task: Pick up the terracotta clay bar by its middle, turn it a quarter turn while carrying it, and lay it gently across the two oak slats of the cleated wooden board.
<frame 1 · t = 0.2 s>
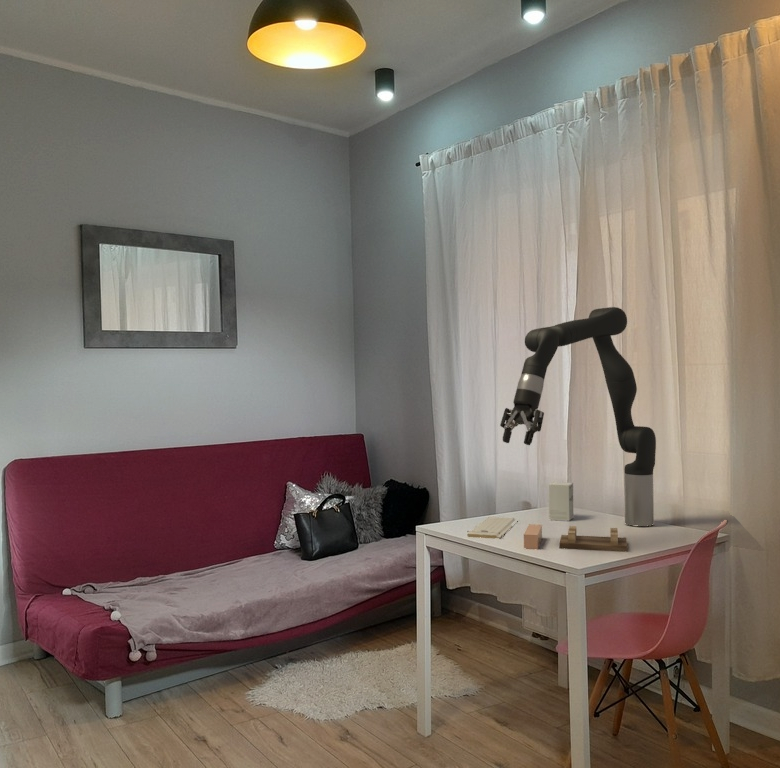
hand: (516, 443, 221), 31 cm above the table, tool tilted 20°, fingers open, 8 cm apart
cleated wooden board: (593, 545, 223), on the table
supplement box: (561, 519, 265), on the table
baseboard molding: (496, 530, 250), on the table
clay bar: (533, 544, 226), on the table
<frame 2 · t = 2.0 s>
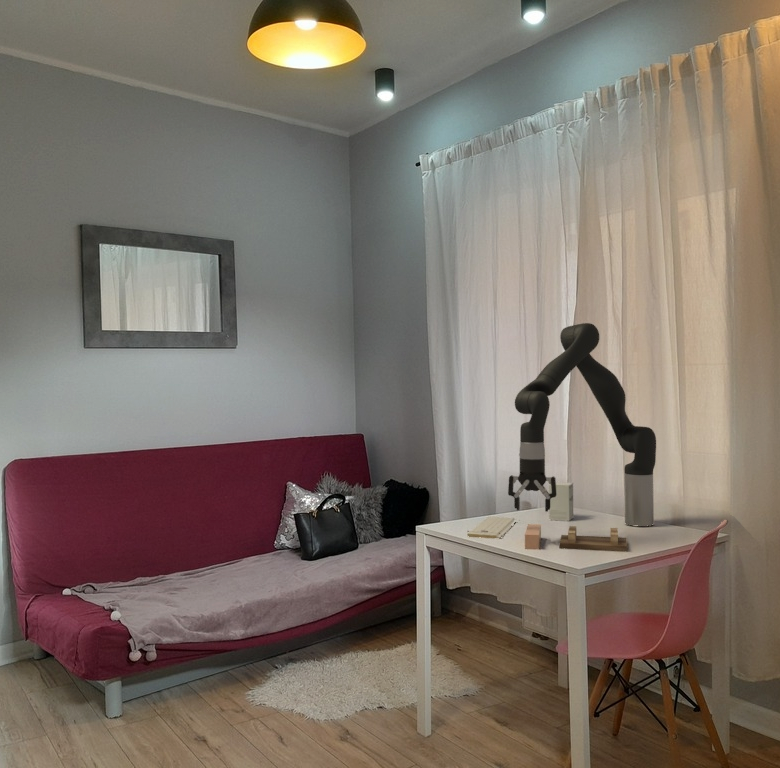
hand: (532, 510, 226), 10 cm above the table, tool pointing down, fingers open, 8 cm apart
nothing on the table moved.
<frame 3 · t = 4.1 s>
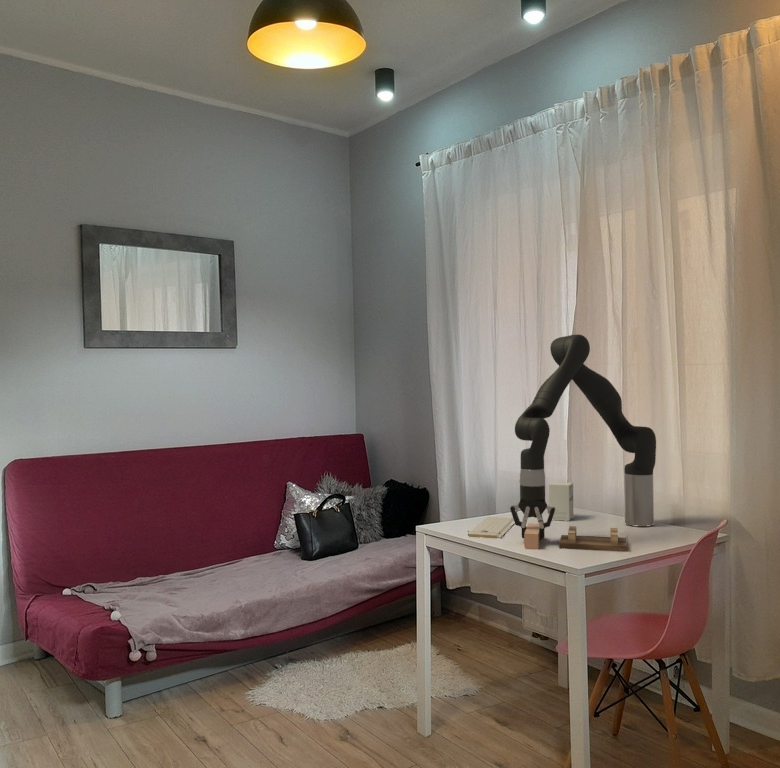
hand: (533, 539, 227), 1 cm above the table, tool pointing down, fingers closed on clay bar, 4 cm apart
clay bar: (533, 543, 227), on the table, touching gripper
everything else where it was.
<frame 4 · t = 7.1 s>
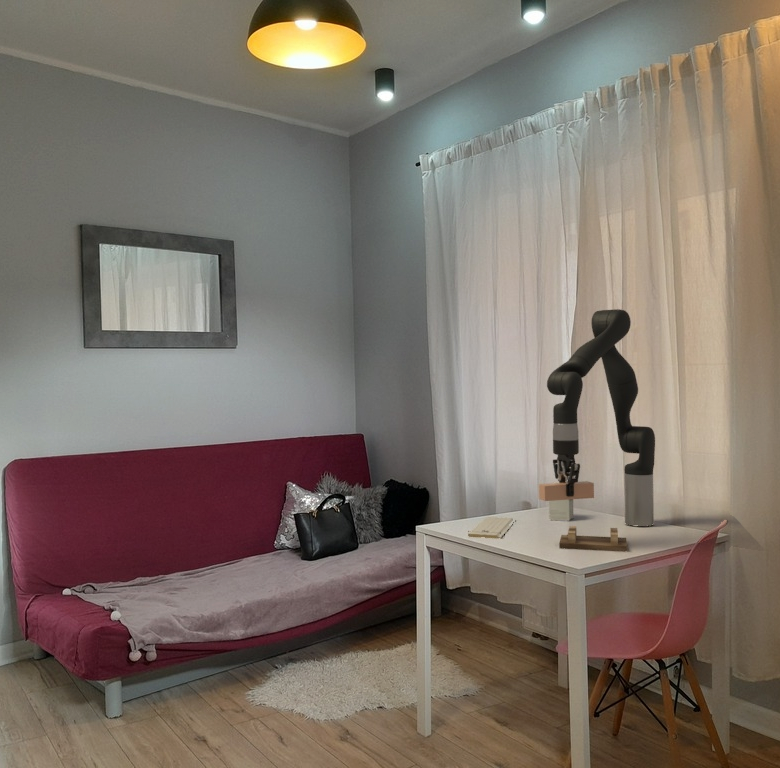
hand: (566, 494, 225), 15 cm above the table, tool pointing down, fingers closed on clay bar, 4 cm apart
clay bar: (566, 498, 225), point 14 cm above the table, touching gripper
everything else where it was.
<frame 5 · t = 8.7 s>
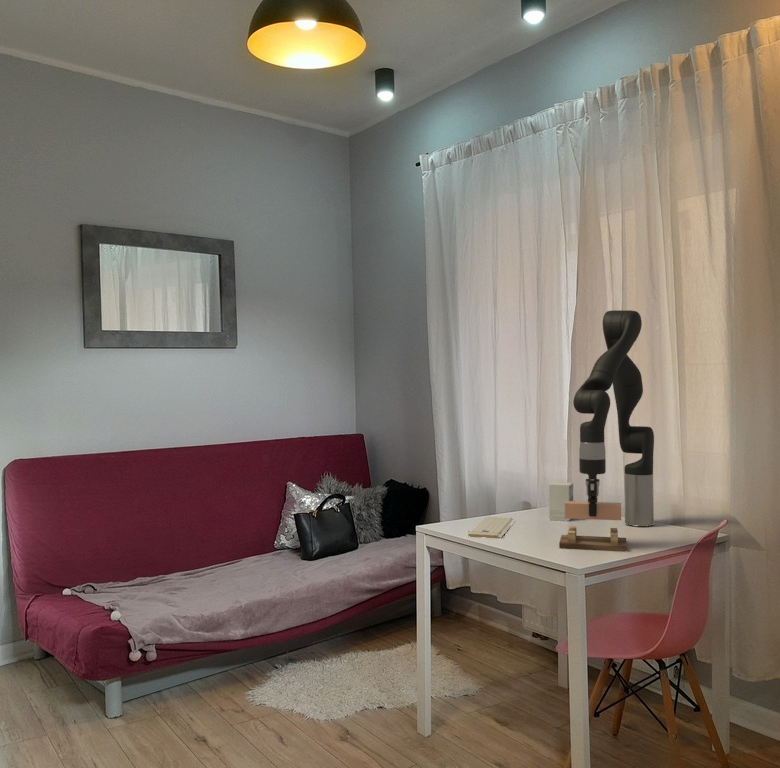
hand: (592, 514, 223), 9 cm above the table, tool pointing down, fingers closed on clay bar, 4 cm apart
clay bar: (592, 518, 223), point 8 cm above the table, touching gripper
everything else where it was.
when the fingers open (6 cm above the table, at t = 10.2 s): clay bar stays where it is, resting on cleated wooden board.
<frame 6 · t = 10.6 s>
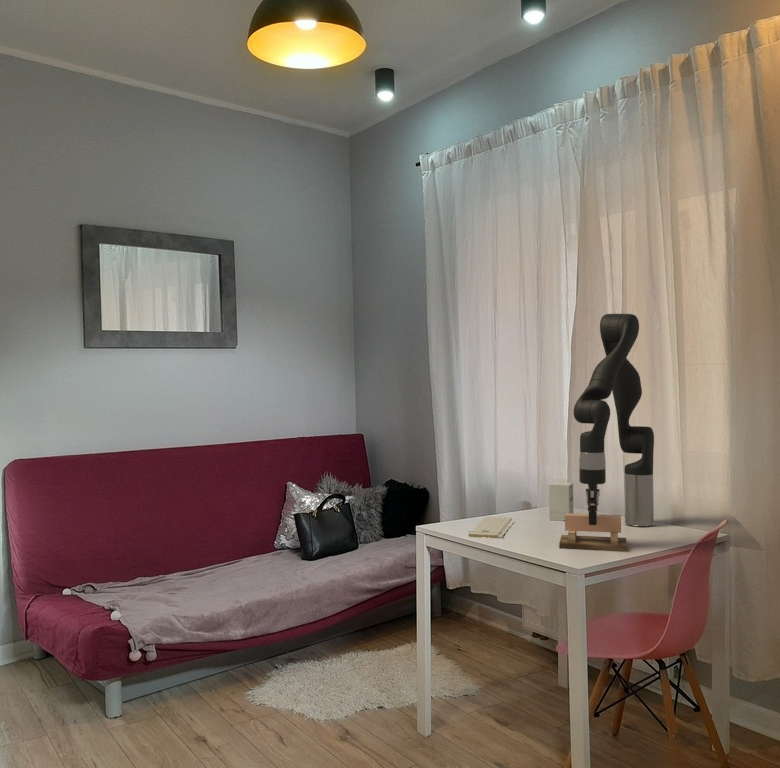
hand: (592, 522, 223), 7 cm above the table, tool pointing down, fingers open, 7 cm apart
clay bar: (592, 530, 223), point 4 cm above the table, touching cleated wooden board
everything else where it was.
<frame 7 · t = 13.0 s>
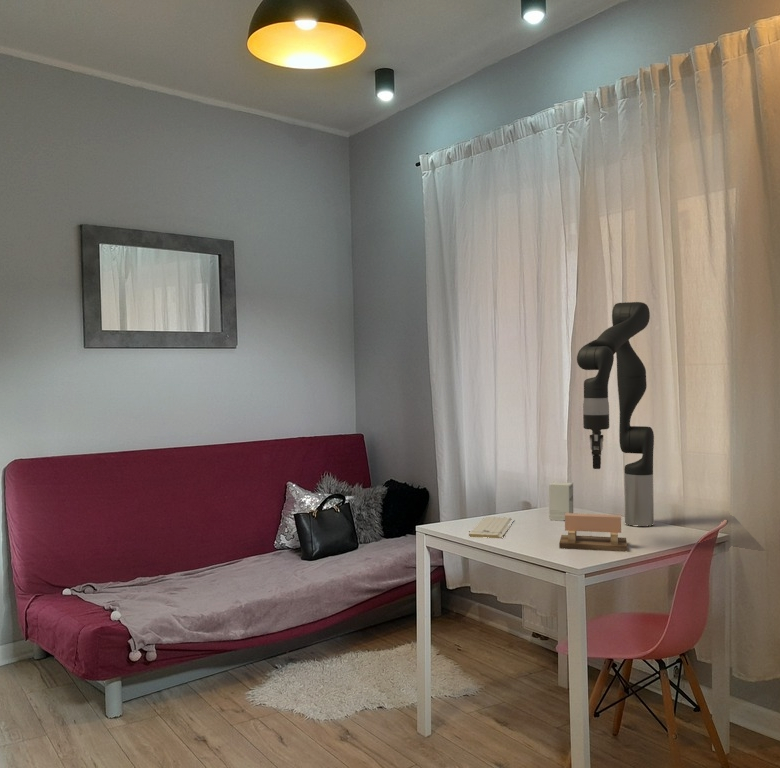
hand: (596, 466, 225), 23 cm above the table, tool pointing down, fingers open, 8 cm apart
nothing on the table moved.
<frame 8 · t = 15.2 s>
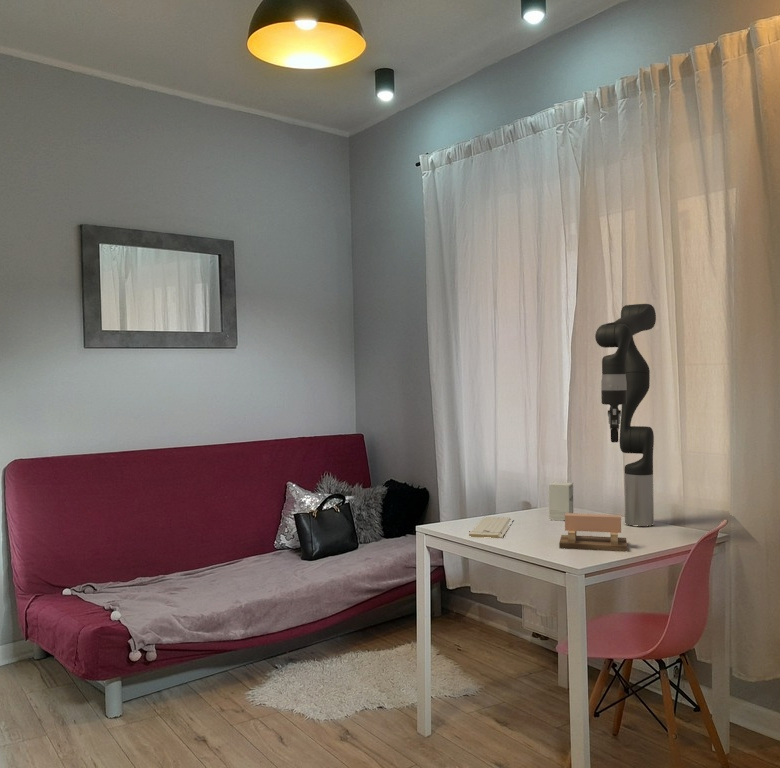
hand: (614, 441, 232), 30 cm above the table, tool pointing down, fingers open, 8 cm apart
nothing on the table moved.
at the end: clay bar inside the target area on the cleated wooden board (0.0 cm from its centre), point 4.5 cm above the cleated wooden board's base; clay bar tilted 0°; the gripper is holding nothing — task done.
